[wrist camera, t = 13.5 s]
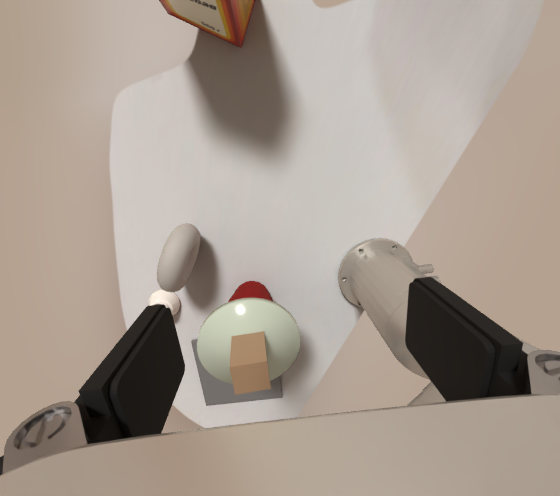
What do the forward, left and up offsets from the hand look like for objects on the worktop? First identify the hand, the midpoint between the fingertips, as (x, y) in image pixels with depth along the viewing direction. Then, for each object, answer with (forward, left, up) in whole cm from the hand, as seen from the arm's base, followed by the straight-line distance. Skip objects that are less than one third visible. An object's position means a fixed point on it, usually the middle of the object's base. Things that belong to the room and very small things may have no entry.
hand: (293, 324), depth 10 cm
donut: (+14, +6, -32) cm, 36 cm away
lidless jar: (+20, +15, -33) cm, 41 cm away
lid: (+5, +16, -20) cm, 26 cm away
